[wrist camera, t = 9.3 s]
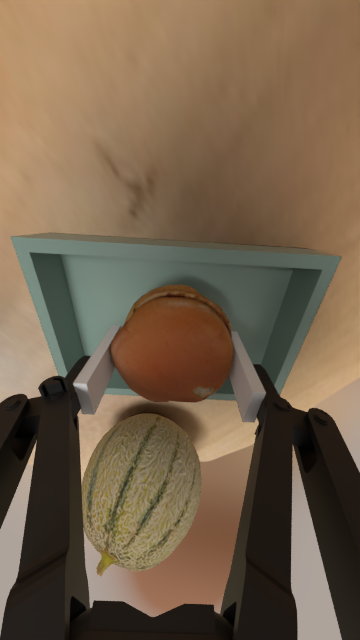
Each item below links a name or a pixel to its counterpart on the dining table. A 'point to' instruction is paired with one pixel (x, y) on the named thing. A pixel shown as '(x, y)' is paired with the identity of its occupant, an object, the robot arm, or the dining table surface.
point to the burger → (174, 346)
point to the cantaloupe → (140, 492)
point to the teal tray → (173, 269)
